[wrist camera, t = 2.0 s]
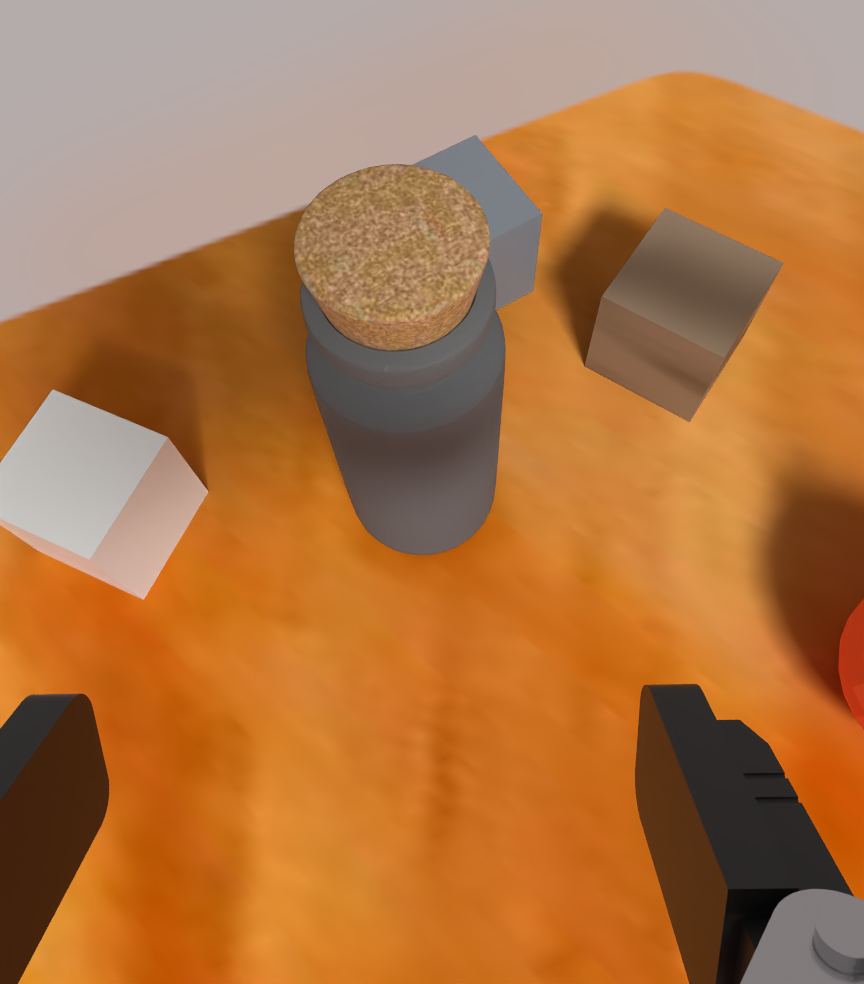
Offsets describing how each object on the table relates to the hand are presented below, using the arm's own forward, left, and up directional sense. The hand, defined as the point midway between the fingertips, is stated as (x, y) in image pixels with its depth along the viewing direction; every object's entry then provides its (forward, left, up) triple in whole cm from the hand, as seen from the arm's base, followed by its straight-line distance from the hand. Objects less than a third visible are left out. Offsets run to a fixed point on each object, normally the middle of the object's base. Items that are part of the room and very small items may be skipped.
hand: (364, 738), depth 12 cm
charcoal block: (-16, -16, -18) cm, 29 cm away
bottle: (-8, -9, -18) cm, 22 cm away
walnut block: (-20, -7, -18) cm, 28 cm away
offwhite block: (+2, -16, -18) cm, 24 cm away
